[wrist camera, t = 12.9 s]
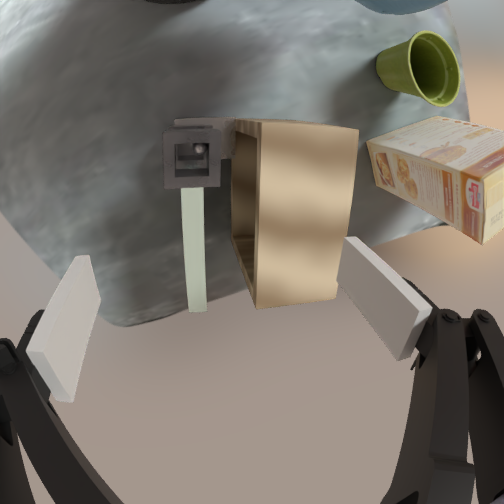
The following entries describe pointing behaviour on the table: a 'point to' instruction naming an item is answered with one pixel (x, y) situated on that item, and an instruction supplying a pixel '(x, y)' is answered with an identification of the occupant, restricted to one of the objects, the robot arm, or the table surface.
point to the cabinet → (286, 203)
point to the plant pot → (421, 68)
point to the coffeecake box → (446, 172)
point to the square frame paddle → (192, 197)
